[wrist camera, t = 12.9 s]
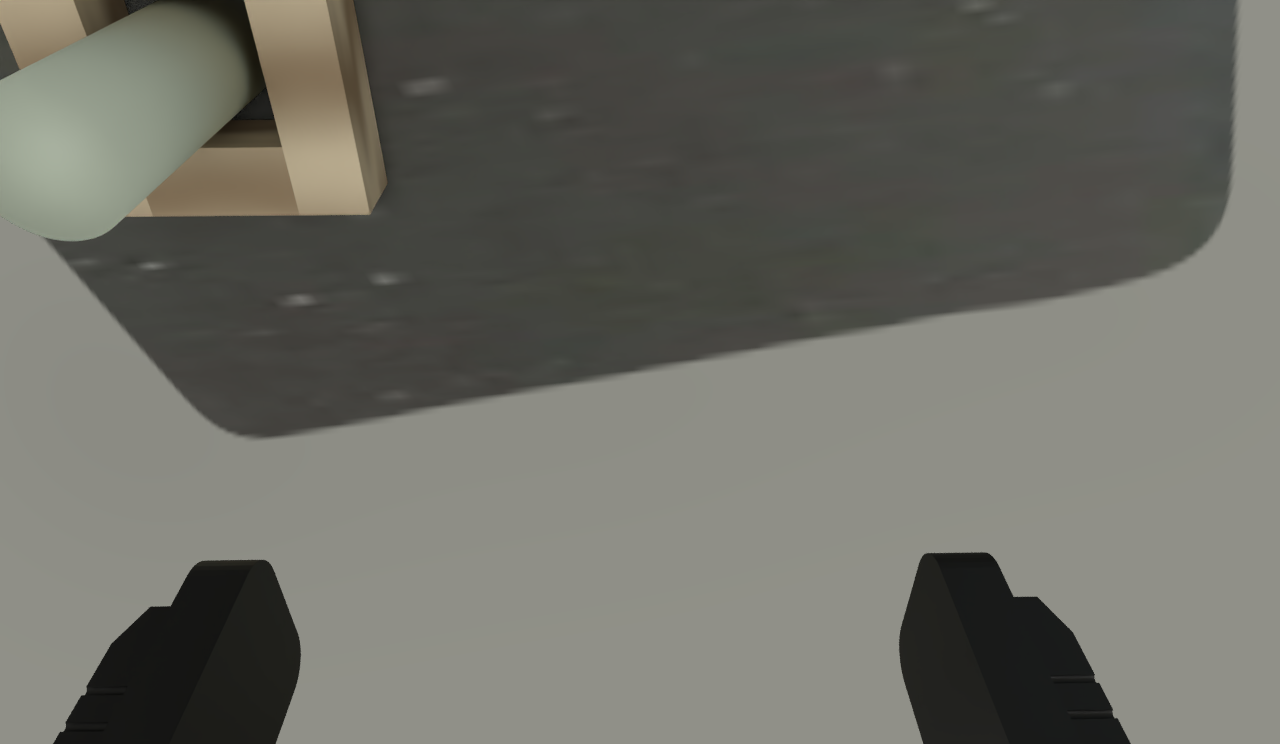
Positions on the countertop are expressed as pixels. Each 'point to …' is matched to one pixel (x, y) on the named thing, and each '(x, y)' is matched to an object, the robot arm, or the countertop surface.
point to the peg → (120, 113)
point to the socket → (255, 149)
